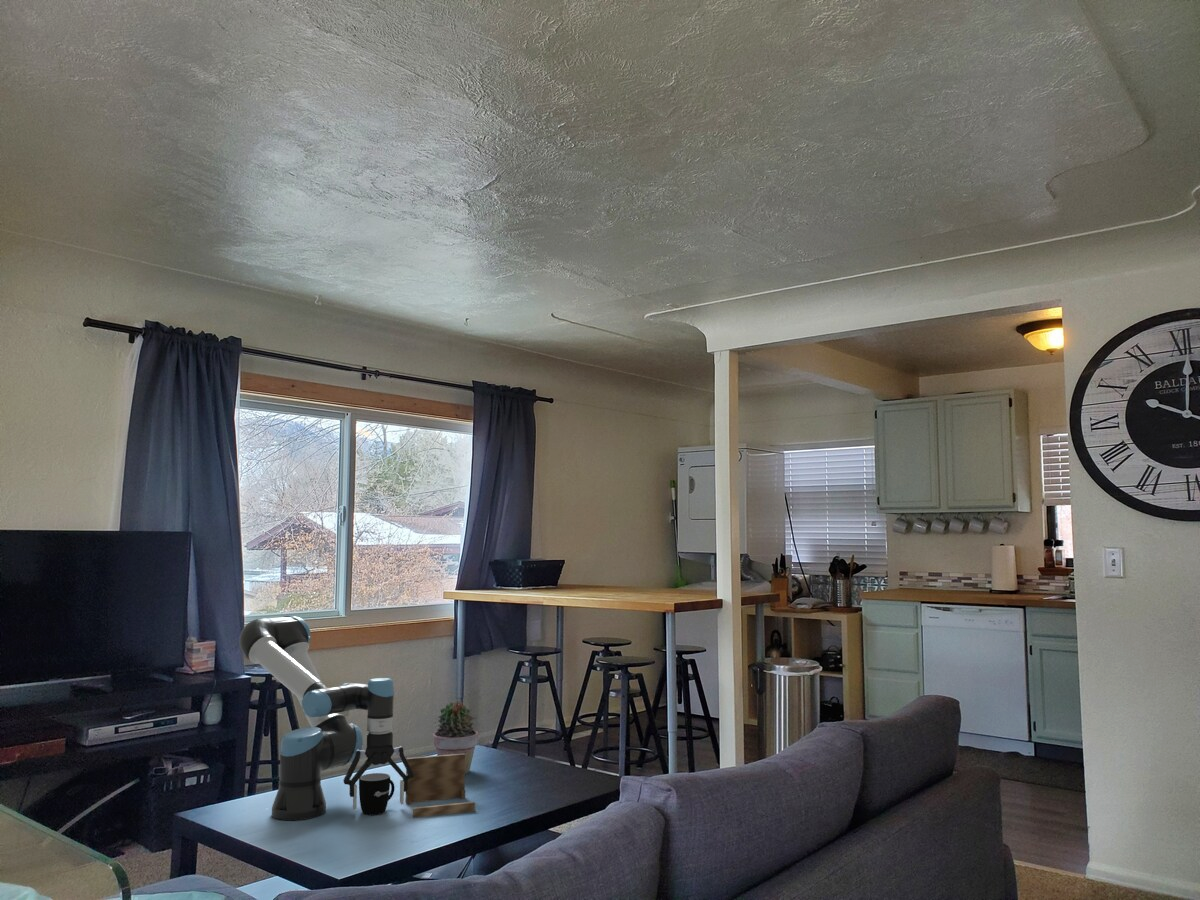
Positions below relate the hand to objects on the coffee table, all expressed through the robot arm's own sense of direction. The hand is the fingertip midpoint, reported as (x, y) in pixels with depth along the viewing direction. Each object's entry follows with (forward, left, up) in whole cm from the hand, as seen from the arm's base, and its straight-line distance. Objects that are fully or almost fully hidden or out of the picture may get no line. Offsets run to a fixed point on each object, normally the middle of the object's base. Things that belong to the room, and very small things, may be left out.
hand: (378, 805), depth 258 cm
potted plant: (+30, +39, -2) cm, 49 cm away
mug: (0, 0, -2) cm, 2 cm away
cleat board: (+18, -1, -2) cm, 18 cm away
